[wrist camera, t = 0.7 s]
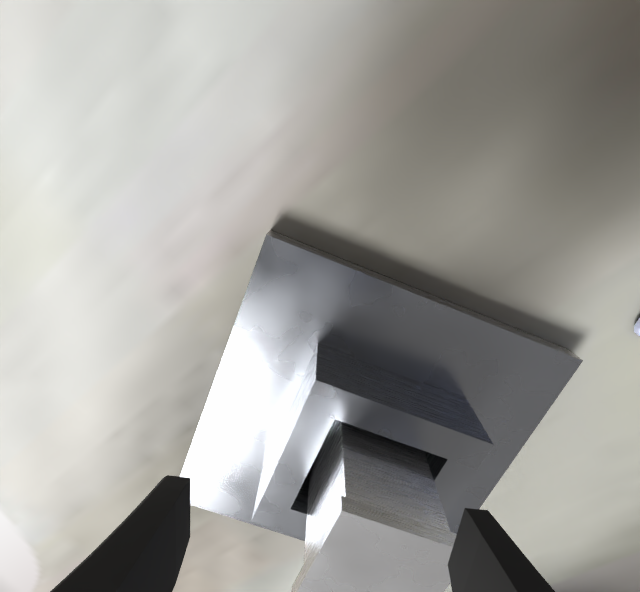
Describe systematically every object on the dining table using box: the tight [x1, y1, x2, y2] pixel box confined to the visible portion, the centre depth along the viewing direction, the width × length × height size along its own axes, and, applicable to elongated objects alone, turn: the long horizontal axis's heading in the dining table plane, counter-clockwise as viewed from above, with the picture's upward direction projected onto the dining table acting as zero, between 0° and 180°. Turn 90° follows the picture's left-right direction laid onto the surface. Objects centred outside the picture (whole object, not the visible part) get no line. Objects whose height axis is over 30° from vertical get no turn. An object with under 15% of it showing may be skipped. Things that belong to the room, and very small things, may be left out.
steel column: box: [292, 420, 457, 592], centre depth 17 cm, size 5×5×7 cm
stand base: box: [180, 230, 583, 541], centre depth 19 cm, size 16×16×4 cm
